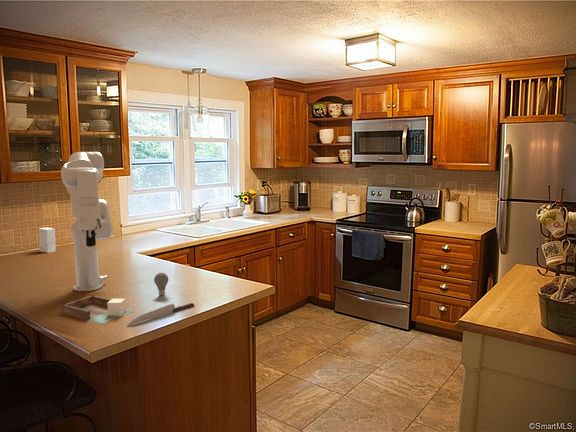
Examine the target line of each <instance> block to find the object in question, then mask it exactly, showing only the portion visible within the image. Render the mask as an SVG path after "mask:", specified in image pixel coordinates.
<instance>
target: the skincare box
mask: <svg viewBox="0 0 576 432" xmlns="http://www.w3.org/2000/svg"><path fill="white" fill-rule="evenodd" d="M38 240H39V241H38V242H39V244H38V245H39V253H40V252H41V253H45V254H46V253H54V252H57V251H56V247H57V246H56V228H53V227H38Z"/></svg>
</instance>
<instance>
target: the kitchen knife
mask: <svg viewBox="0 0 576 432" xmlns="http://www.w3.org/2000/svg"><path fill="white" fill-rule="evenodd" d="M175 306H176V305H175V304H174V303H170V304H166V305H164V306H161V307H158V308H155V309H153V310H151V311H147V312H145V313H142V314H139V315H138V316H136V317H135V318H133V319H132V320H131V321H129V322H128V324H127V325H126V326H125V327H126V328H128V327H130V326H132V325H134V324H137V323H141V322H144V321H145V322H146V321H147V320H152V319H156V318H160V317H163V316H167V315H170V314H174V313H177V312H180V310H181V311H184V310H187V309H190V308H193V307H195V303H193V302H191V303H187V304H183V305H180V306H176V307H175ZM186 308H187V309H186ZM183 309H184V310H183ZM173 312H174V313H173ZM169 313H170V314H169Z"/></svg>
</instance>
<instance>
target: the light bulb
mask: <svg viewBox="0 0 576 432" xmlns="http://www.w3.org/2000/svg"><path fill="white" fill-rule="evenodd" d="M153 281H154V284H155V286H156V288H157V290H158V295H159V296H164V295H166V288H167V287H166V286H167V284H168V282H169V276H168V275H167V274H166V273H165V272H158V273H157V274H156V275H155V276H154V279H153Z"/></svg>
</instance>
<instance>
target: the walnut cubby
mask: <svg viewBox="0 0 576 432" xmlns="http://www.w3.org/2000/svg"><path fill="white" fill-rule="evenodd" d="M112 299H113V298H107V297H103V296H100V295H89V296H86V297H83V298H80V299H77V300H74V301H70V302H67V303H64V304H61V306H60V307H61V313H60V315H64V316H68V317H72V318H76V319H79V320H83V321H87V322H90V323H91V322H92V323H95V324H99V325H102V324H104V323H107V322H110V321H113V320H115V319H119V318H120V317H123V316H125V315H127V314H128V315H129V314H130V313H134V312H135V309H134V310H133V309H129V308H126V312H125V313H123V314H122V315H121V316H110V315H108V307H107V303H108V302H109V301H110V300H112Z"/></svg>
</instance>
